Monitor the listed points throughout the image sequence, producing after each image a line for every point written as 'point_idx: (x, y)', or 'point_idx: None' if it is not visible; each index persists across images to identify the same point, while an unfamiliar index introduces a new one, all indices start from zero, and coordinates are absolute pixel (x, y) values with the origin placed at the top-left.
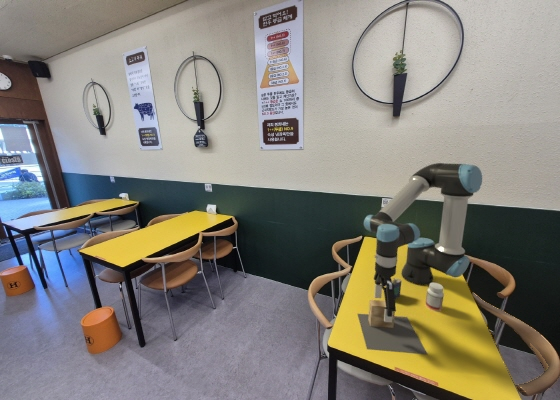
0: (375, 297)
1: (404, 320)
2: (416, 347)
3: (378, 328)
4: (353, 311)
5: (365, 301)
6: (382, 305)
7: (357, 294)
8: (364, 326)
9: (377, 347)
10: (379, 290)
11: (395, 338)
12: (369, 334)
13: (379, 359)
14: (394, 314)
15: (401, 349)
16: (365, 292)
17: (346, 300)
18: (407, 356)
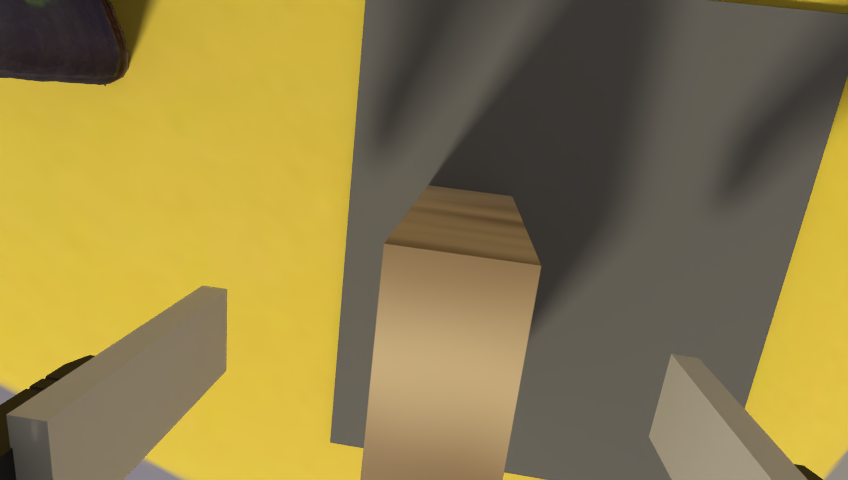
0: (220, 368)
1: (418, 25)
2: (767, 86)
3: None
4: (297, 454)
5: (155, 303)
6: (484, 447)
7: (61, 340)
8: None
9: None
10: (140, 390)
11: (641, 237)
12: (572, 434)
13: (808, 448)
14: (526, 232)
15: (764, 242)
16: (17, 251)
17: (160, 464)
18: (827, 218)
